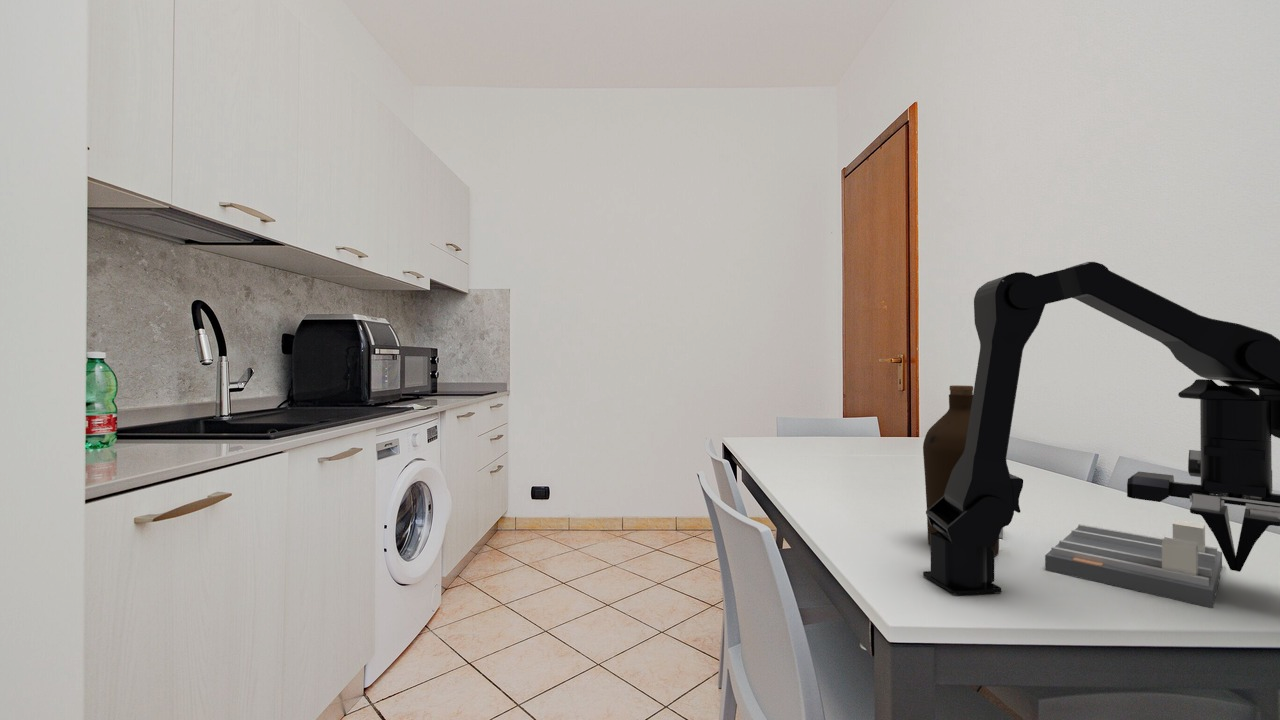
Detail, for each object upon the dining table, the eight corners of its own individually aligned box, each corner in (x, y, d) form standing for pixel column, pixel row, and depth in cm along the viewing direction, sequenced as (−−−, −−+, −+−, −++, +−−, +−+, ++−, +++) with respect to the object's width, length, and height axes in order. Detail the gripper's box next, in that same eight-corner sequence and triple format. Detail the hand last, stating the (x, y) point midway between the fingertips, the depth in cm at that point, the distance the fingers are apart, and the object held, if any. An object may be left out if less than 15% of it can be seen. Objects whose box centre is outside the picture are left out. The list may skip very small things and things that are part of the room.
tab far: (1203, 556, 74) (1203, 528, 75) (1172, 550, 77) (1172, 523, 77) (1205, 551, 76) (1204, 524, 77) (1175, 545, 79) (1174, 519, 79)
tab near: (1196, 578, 67) (1195, 548, 67) (1162, 571, 69) (1161, 542, 69) (1198, 572, 69) (1197, 542, 69) (1164, 566, 71) (1164, 537, 71)
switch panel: (1212, 608, 64) (1212, 583, 64) (1045, 569, 76) (1045, 549, 76) (1222, 566, 77) (1221, 546, 77) (1078, 539, 89) (1078, 521, 89)
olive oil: (988, 566, 77) (986, 387, 78) (911, 546, 85) (910, 385, 86) (1014, 549, 84) (1012, 385, 84) (940, 533, 92) (939, 384, 92)
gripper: (1356, 440, 64) (1357, 576, 63) (1139, 426, 78) (1140, 537, 77) (1368, 450, 56) (1369, 603, 56) (1126, 432, 70) (1126, 555, 70)
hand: (1235, 570), depth 65 cm, fingers closed
